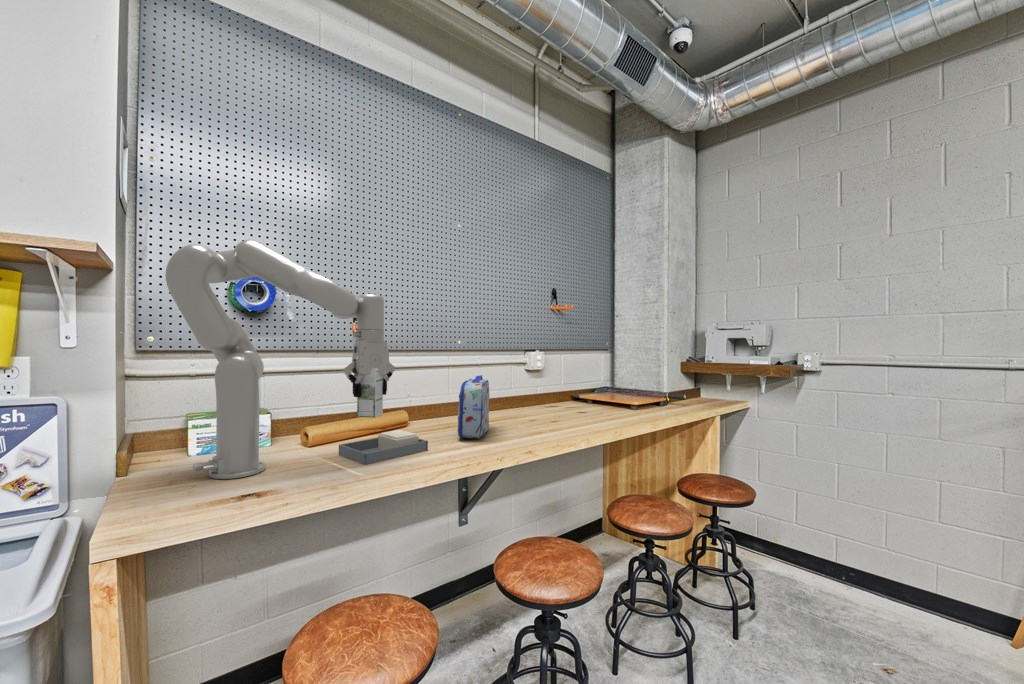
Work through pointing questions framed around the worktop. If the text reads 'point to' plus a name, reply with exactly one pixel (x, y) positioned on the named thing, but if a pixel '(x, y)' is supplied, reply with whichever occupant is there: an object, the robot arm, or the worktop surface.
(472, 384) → the lunch box
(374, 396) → the syrup box
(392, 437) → the white lidded box
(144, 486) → the worktop surface
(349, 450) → the tray
